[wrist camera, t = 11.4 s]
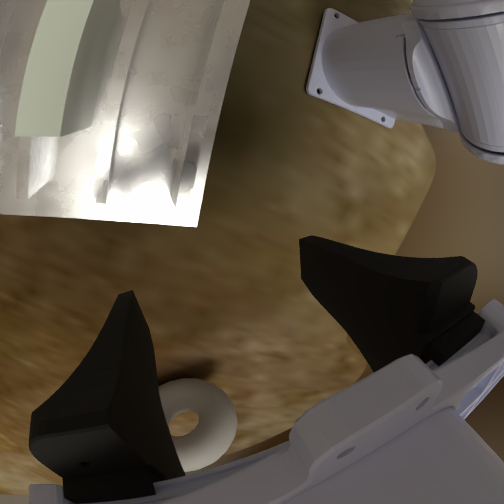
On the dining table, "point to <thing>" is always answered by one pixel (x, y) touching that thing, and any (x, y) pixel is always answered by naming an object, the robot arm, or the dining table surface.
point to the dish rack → (124, 115)
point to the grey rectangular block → (65, 67)
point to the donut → (200, 420)
